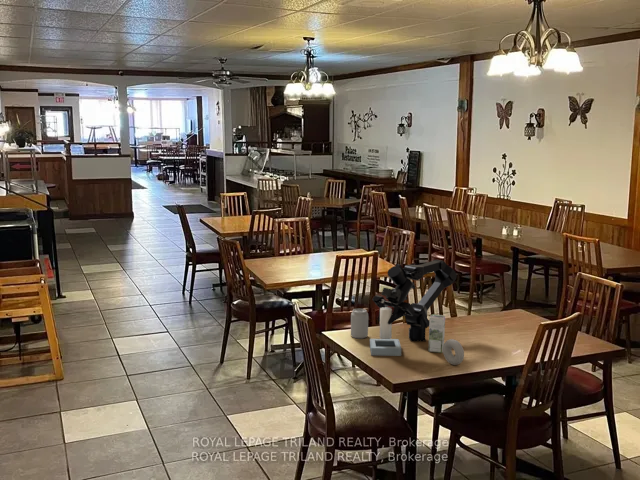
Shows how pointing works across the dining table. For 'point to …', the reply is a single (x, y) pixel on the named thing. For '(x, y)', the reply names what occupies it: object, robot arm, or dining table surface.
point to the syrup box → (436, 333)
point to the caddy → (385, 347)
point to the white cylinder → (385, 323)
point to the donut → (457, 348)
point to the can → (359, 323)
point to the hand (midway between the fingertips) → (383, 322)
